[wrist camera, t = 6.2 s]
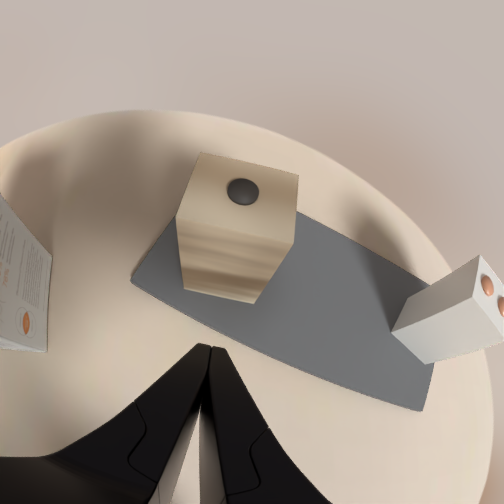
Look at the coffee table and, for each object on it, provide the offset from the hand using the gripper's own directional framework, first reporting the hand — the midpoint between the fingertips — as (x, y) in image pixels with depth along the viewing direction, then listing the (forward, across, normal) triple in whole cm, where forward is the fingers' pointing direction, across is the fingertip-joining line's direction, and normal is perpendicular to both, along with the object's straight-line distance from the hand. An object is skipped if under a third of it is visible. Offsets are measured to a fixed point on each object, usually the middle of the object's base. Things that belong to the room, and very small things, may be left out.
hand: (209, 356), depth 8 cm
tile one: (+12, 0, +2) cm, 12 cm away
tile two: (+11, -17, +4) cm, 21 cm away
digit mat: (+12, -8, +3) cm, 15 cm away
